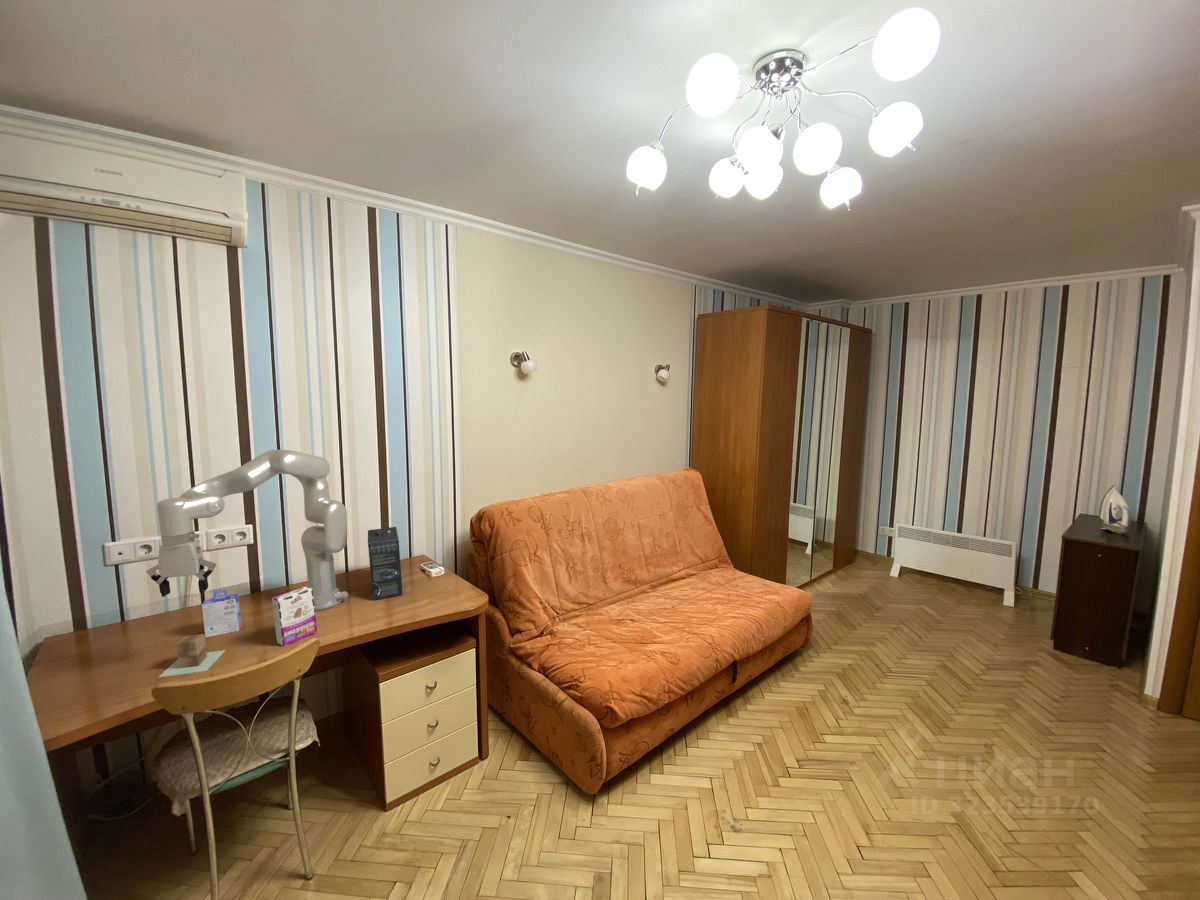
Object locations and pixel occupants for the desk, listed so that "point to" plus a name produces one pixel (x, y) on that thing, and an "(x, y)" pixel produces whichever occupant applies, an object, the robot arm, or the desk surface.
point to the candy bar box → (294, 615)
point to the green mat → (201, 668)
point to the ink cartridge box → (221, 614)
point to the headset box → (384, 563)
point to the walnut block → (191, 651)
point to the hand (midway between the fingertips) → (185, 593)
